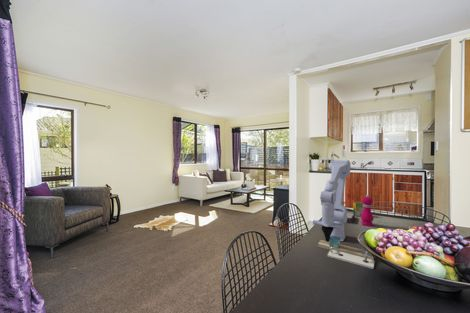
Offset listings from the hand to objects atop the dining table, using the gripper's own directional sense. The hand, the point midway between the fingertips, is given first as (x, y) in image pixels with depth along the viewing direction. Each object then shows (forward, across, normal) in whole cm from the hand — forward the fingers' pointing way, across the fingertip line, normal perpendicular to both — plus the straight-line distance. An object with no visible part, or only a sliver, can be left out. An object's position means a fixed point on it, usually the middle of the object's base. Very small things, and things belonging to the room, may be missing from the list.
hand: (327, 241), depth 110 cm
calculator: (+4, -1, +54) cm, 54 cm away
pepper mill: (+3, +13, +50) cm, 52 cm away
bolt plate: (+3, +11, -8) cm, 14 cm away
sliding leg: (+2, +3, -3) cm, 5 cm away
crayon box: (+3, +6, +70) cm, 70 cm away
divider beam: (+3, +8, -2) cm, 9 cm away
